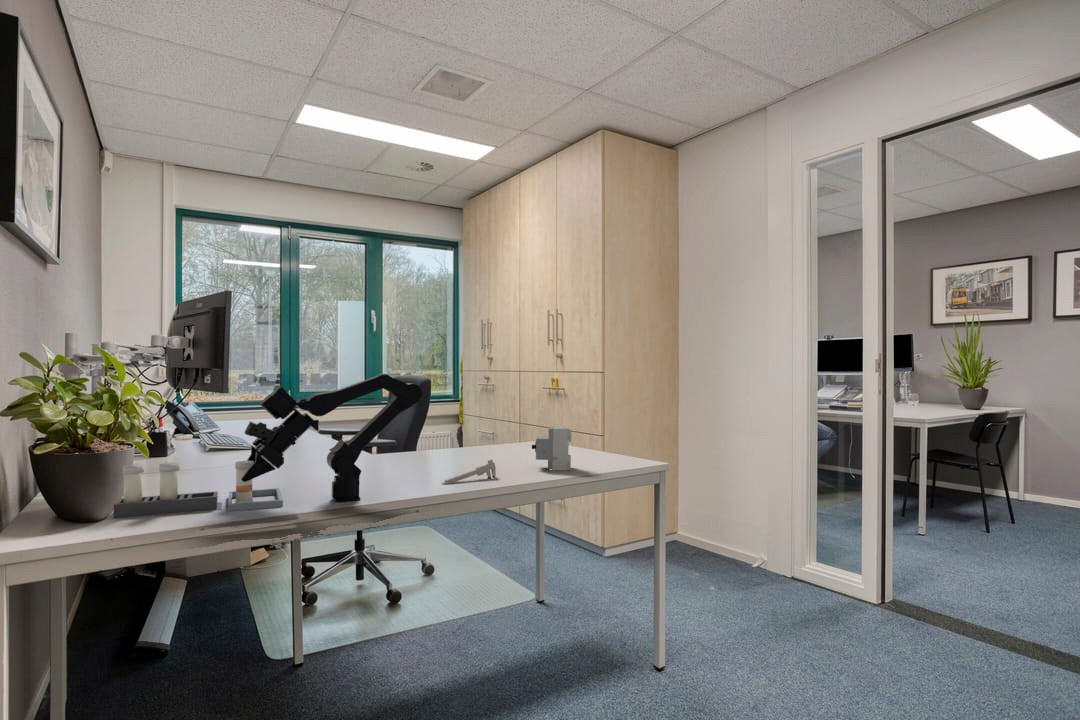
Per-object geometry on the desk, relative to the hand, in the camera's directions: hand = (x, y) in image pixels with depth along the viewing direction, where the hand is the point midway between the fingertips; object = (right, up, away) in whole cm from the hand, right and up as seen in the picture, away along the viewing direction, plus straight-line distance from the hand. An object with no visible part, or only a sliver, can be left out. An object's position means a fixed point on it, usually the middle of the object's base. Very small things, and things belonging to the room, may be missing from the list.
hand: (241, 477), depth 144 cm
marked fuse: (+1, -7, 0) cm, 7 cm away
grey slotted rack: (-13, -8, -8) cm, 17 cm away
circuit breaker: (+79, -10, +66) cm, 103 cm away
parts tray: (+3, -8, +2) cm, 9 cm away
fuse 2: (-13, -6, -8) cm, 17 cm away
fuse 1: (-19, -6, -11) cm, 23 cm away
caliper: (+52, -10, +41) cm, 67 cm away
